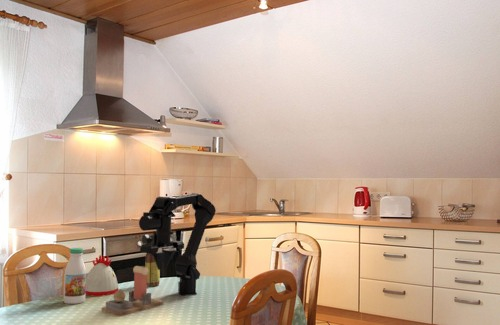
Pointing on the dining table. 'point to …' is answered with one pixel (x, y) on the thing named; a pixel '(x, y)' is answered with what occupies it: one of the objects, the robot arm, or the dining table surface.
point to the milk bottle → (75, 278)
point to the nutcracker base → (134, 307)
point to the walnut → (119, 296)
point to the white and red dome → (101, 278)
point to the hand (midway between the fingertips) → (162, 269)
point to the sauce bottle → (152, 271)
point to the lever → (140, 282)
